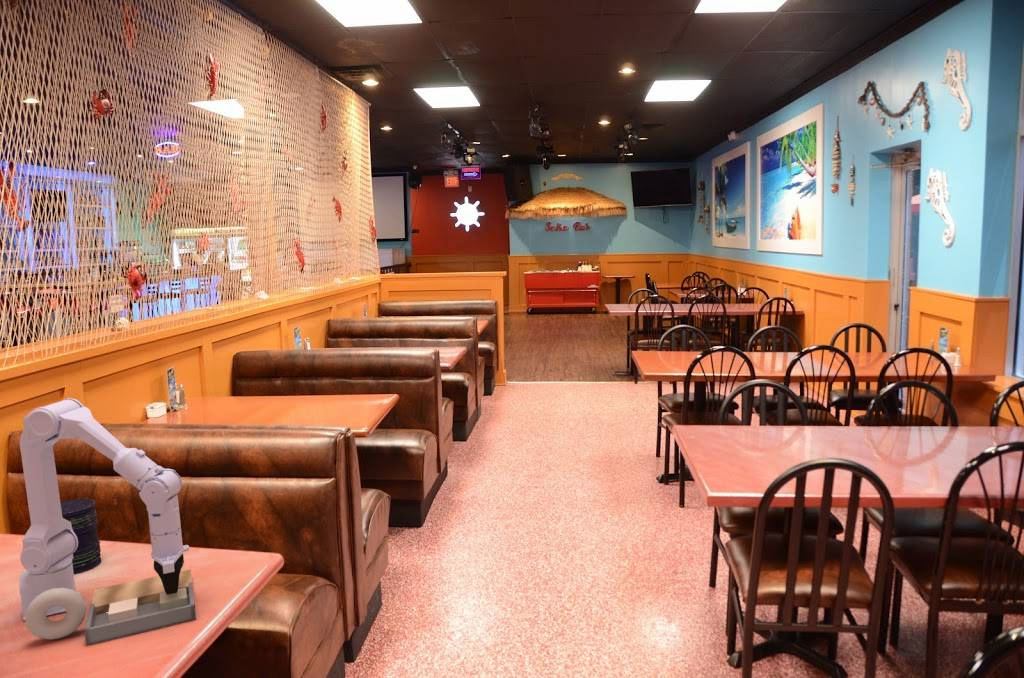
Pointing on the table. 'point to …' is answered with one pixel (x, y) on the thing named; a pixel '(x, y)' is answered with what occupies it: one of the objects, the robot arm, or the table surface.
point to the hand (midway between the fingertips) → (171, 592)
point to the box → (137, 620)
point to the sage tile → (173, 600)
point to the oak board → (135, 591)
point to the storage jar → (83, 533)
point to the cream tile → (123, 610)
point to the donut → (60, 628)
